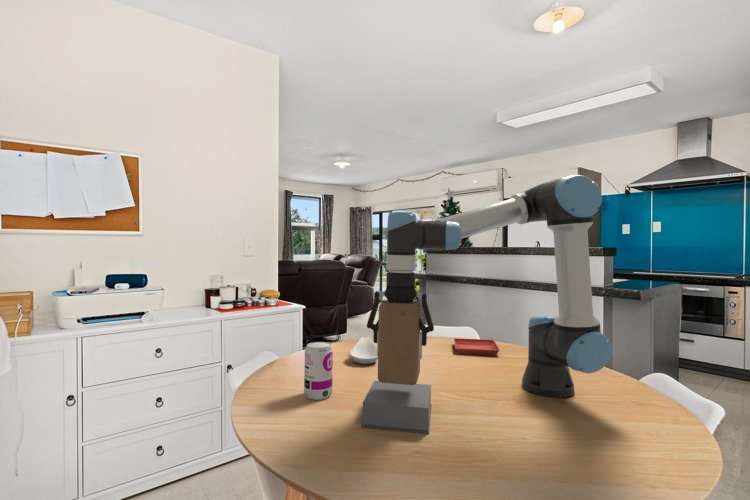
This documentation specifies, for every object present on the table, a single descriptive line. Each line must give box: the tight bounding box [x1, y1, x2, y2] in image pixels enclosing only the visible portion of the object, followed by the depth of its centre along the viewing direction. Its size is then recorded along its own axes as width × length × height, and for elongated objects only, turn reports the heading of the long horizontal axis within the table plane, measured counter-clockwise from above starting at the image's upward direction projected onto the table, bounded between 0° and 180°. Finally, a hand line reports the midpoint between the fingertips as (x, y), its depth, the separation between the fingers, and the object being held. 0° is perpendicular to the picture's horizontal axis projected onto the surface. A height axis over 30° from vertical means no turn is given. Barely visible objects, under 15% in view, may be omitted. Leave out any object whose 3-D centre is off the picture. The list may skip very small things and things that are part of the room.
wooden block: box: [377, 299, 422, 385], centre depth 101 cm, size 10×10×20 cm
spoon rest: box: [349, 336, 378, 365], centre depth 154 cm, size 24×12×7 cm, turn 3°
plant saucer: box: [453, 337, 500, 357], centre depth 168 cm, size 18×18×3 cm
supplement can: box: [303, 341, 334, 401], centre depth 114 cm, size 8×8×15 cm
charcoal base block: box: [360, 380, 432, 435], centre depth 101 cm, size 16×16×6 cm
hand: (399, 356), depth 101 cm, fingers closed on wooden block, 10 cm apart
